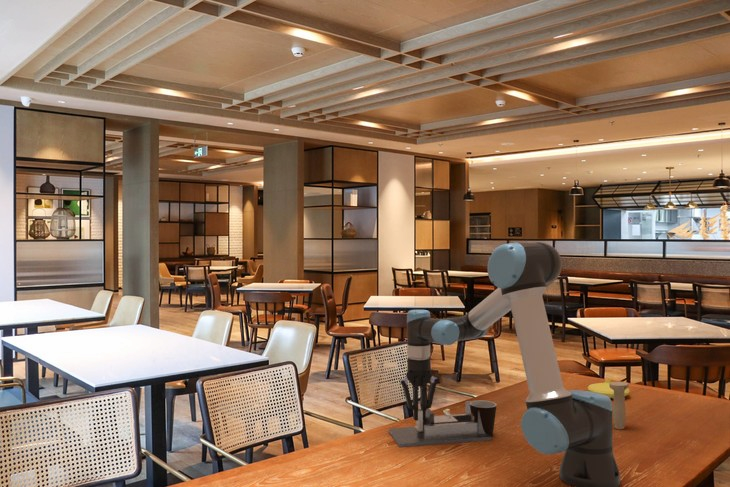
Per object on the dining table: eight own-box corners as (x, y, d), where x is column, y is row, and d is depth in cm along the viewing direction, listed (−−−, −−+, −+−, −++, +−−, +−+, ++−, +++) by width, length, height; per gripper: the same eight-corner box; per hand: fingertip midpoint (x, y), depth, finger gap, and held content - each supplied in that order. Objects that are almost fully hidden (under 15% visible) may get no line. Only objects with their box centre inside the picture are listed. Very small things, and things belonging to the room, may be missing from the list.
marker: (450, 424, 210) (450, 410, 209) (447, 424, 209) (447, 410, 209) (448, 422, 211) (448, 408, 211) (445, 423, 211) (445, 409, 211)
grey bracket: (458, 433, 200) (457, 411, 200) (430, 435, 199) (430, 413, 199) (447, 423, 211) (447, 402, 211) (421, 425, 210) (421, 404, 209)
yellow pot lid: (632, 394, 251) (632, 377, 251) (626, 403, 238) (625, 385, 238) (592, 389, 259) (592, 373, 259) (583, 398, 246) (583, 380, 246)
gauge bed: (491, 440, 197) (490, 411, 197) (399, 447, 192) (399, 418, 192) (473, 425, 213) (473, 399, 213) (388, 431, 208) (388, 404, 207)
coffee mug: (495, 439, 197) (495, 408, 197) (468, 437, 199) (468, 406, 199) (498, 428, 208) (498, 399, 208) (472, 426, 211) (472, 397, 210)
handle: (606, 428, 208) (606, 383, 208) (619, 425, 211) (619, 381, 211) (618, 431, 203) (618, 386, 203) (632, 428, 206) (631, 383, 206)
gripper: (434, 354, 206) (435, 425, 206) (396, 356, 203) (397, 427, 203) (441, 358, 198) (442, 432, 198) (402, 360, 196) (403, 434, 196)
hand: (419, 429), depth 201 cm, fingers closed
